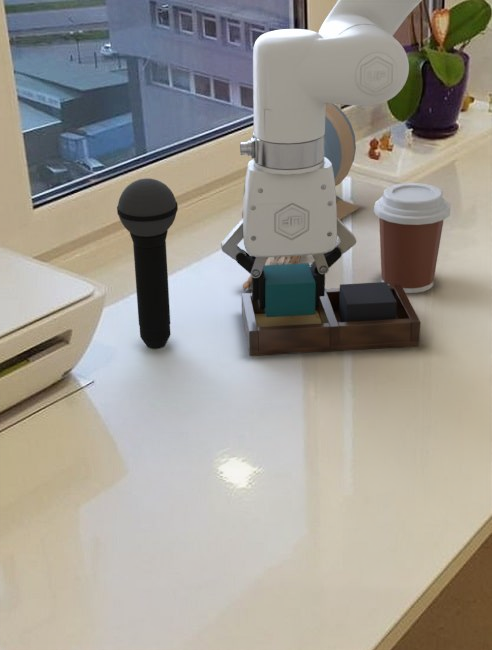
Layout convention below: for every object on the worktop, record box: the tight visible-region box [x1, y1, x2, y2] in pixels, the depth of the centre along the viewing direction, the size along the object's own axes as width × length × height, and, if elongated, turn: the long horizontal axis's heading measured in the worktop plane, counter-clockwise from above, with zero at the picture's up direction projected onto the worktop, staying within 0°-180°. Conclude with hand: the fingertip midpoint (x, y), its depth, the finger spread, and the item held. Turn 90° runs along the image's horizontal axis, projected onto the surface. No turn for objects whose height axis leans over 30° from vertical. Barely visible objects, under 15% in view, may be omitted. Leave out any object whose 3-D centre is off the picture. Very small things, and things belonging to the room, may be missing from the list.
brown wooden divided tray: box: [240, 284, 421, 356], centre depth 124 cm, size 19×10×3 cm, turn 90°
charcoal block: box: [339, 281, 397, 322], centre depth 123 cm, size 6×6×4 cm
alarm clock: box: [324, 103, 360, 221], centre depth 154 cm, size 14×10×18 cm
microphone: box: [116, 177, 179, 350], centre depth 119 cm, size 7×7×20 cm
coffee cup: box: [373, 182, 451, 294], centre depth 132 cm, size 9×9×12 cm
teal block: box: [263, 262, 316, 317], centre depth 122 cm, size 6×6×4 cm
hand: (287, 301), depth 122 cm, fingers closed on teal block, 5 cm apart
